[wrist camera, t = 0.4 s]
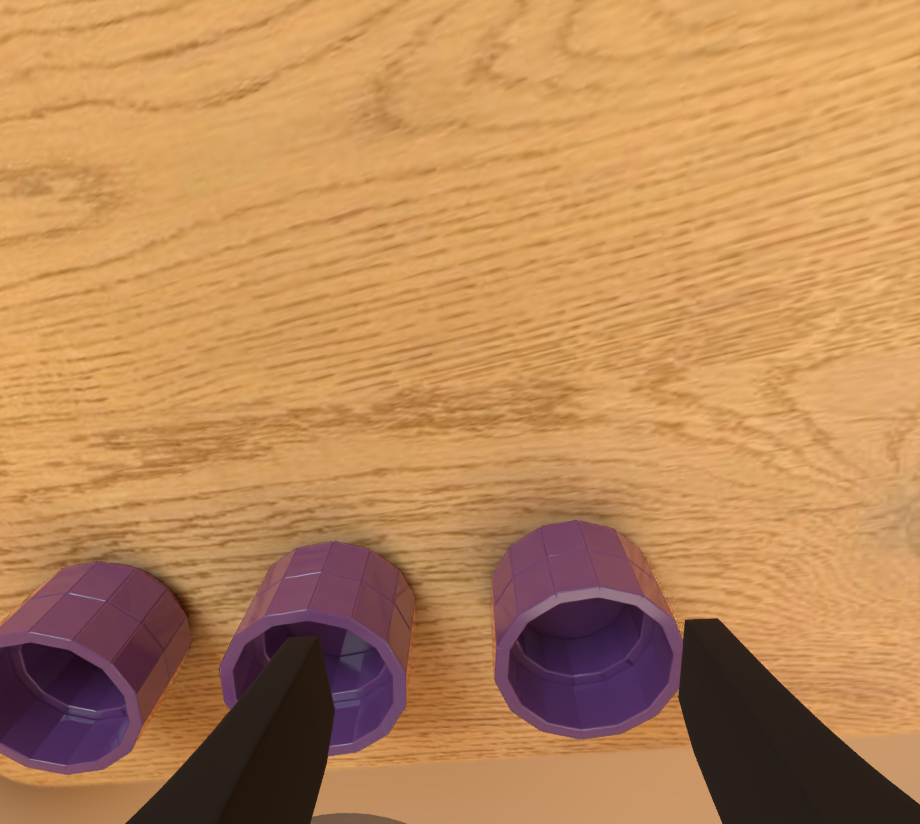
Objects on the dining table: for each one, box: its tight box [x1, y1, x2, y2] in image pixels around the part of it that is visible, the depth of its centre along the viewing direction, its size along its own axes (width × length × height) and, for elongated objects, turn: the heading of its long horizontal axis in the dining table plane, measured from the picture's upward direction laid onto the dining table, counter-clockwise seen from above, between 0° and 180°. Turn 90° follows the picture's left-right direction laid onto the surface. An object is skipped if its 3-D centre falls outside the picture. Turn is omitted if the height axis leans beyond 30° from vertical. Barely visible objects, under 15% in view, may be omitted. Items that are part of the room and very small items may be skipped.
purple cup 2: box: [490, 520, 683, 739], centre depth 19 cm, size 5×6×4 cm
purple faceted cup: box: [0, 561, 191, 775], centre depth 20 cm, size 5×6×4 cm
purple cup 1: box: [219, 541, 416, 756], centre depth 19 cm, size 5×6×4 cm
